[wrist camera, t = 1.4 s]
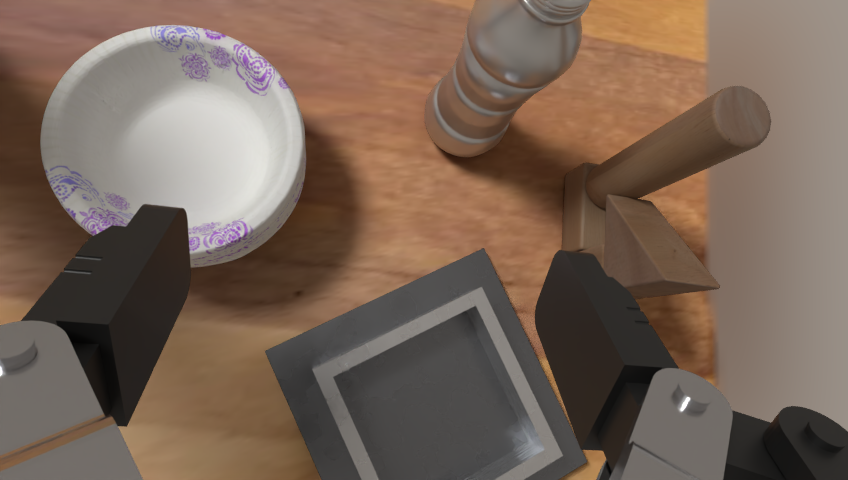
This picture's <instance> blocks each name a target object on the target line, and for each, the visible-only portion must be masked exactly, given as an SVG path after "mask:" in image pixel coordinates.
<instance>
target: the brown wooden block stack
mask: <svg viewBox="0 0 848 480" xmlns="http://www.w3.org/2000/svg"><path fill="white" fill-rule="evenodd" d="M770 125H771V119H770V113H769V110H768V108H767V106H766V104H765V102H764V101H763V100H762V98H761V97H760V96H759V95H758V94H756V93H755V92H754V91H752V90H751V89H748V88H745V87H741V86H732V87H727V88H724V89H722V90H720V91H718V92H717V93H715V94H714V95H712V96H710V97H709V98H707V99H705V100H704V101H702V102H701V103H699V104H697V105H696V106H694V107H692V108H691V109H689V110H688V111H686V112H684V113H683V114H681V115H679V116H678V117H676V118H675V119H673V120H671V121H670V122H668V123H666V124H665V125H663V126H662V127H660V128H658V129H657V130H655V131H653V132H652V133H650V134H649V135H647V136H645V137H644V138H642V139H641V140H639V141H637V142H636V143H634V144H632V145H631V146H629V147H628V148H626V149H624V150H623V151H621V152H619V153H618V154H616V155H615V156H613V157H611V158H610V159H608V160H606V161H605V162H603V163H602V164H600V165H598V164H592V163H583V164H581V165H580V166H578V167H577V168H575V169H574V170H572V171H571V172H569V173H568V174H566V176H565V194H564V213H563V232H562V250H565V251H575V252H584V253H592V254H594V255H595V257H596V258H597V260H598V261H599V263H600V265H601V266H602V268H603V270H604V271H605V273H606V275H607V276H608V277H613V278H614V279H615V280H617V281H618V282H619V283H620V284H621V285H622V286H624V287H625V288H626V289H627V290H628V291H629V292H630V293H631V294H632V296H633V297H634V299H641V298H645V297H657V296H665V295H673V294H681V293H689V292H697V291H706V290H714V289H719V288H720V285H719V284H718V283H717V282H716V280H715V279H714V278H713V277H712V275H711V274H710V273H709V272H708V271H707V269H706V268H705V267H704V266H703V264H702V263H701V262H700V261H699V259H698V258H697V257H696V256H695V255H694V253H693V252H692V251H691V250H690V248H689V247H688V246H687V245H686V244H685V242H684V241H683V240H682V239H681V237H680V236H679V235H678V234H677V232H676V231H675V230H674V229H673V228H672V226H671V225H670V224H669V223H668V221H667V220H666V219H665V218H664V217H663V215H662V214H661V213H660V212H659V210H658V209H657V208H656V207H655V206H654V204H653V203H652V202H651V201H647V200H640V199H638V198H640V197H643V196H645V195H647V194H649V193H652V192H654V191H656V190H659V189H661V188H663V187H665V186H668V185H670V184H672V183H675V182H677V181H679V180H681V179H684V178H686V177H688V176H691V175H693V174H695V173H698V172H700V171H702V170H704V169H707V168H709V167H711V166H714V165H716V164H718V163H720V162H723V161H725V160H727V159H730V158H732V157H734V156H736V155H739V154H741V153H743V152H745V151H748V150H750V149H752V148H755V147H757V146H758V145H760V144H761V143H762V142H763V141H764V139H765V138H766V137H767V135H768V133H769V131H770Z"/></svg>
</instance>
